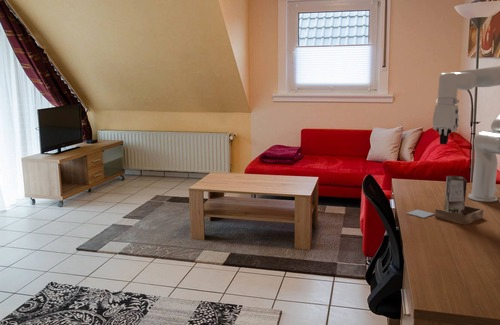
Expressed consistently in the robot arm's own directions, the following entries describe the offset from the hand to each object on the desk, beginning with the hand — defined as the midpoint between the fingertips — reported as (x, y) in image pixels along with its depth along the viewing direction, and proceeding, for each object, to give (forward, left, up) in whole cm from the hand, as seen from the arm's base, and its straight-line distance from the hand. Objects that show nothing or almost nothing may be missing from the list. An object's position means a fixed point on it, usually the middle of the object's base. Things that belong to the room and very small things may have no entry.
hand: (443, 143), depth 213 cm
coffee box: (+13, +14, -27) cm, 33 cm away
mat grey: (+21, +4, -27) cm, 35 cm away
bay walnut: (+13, +16, -27) cm, 34 cm away
